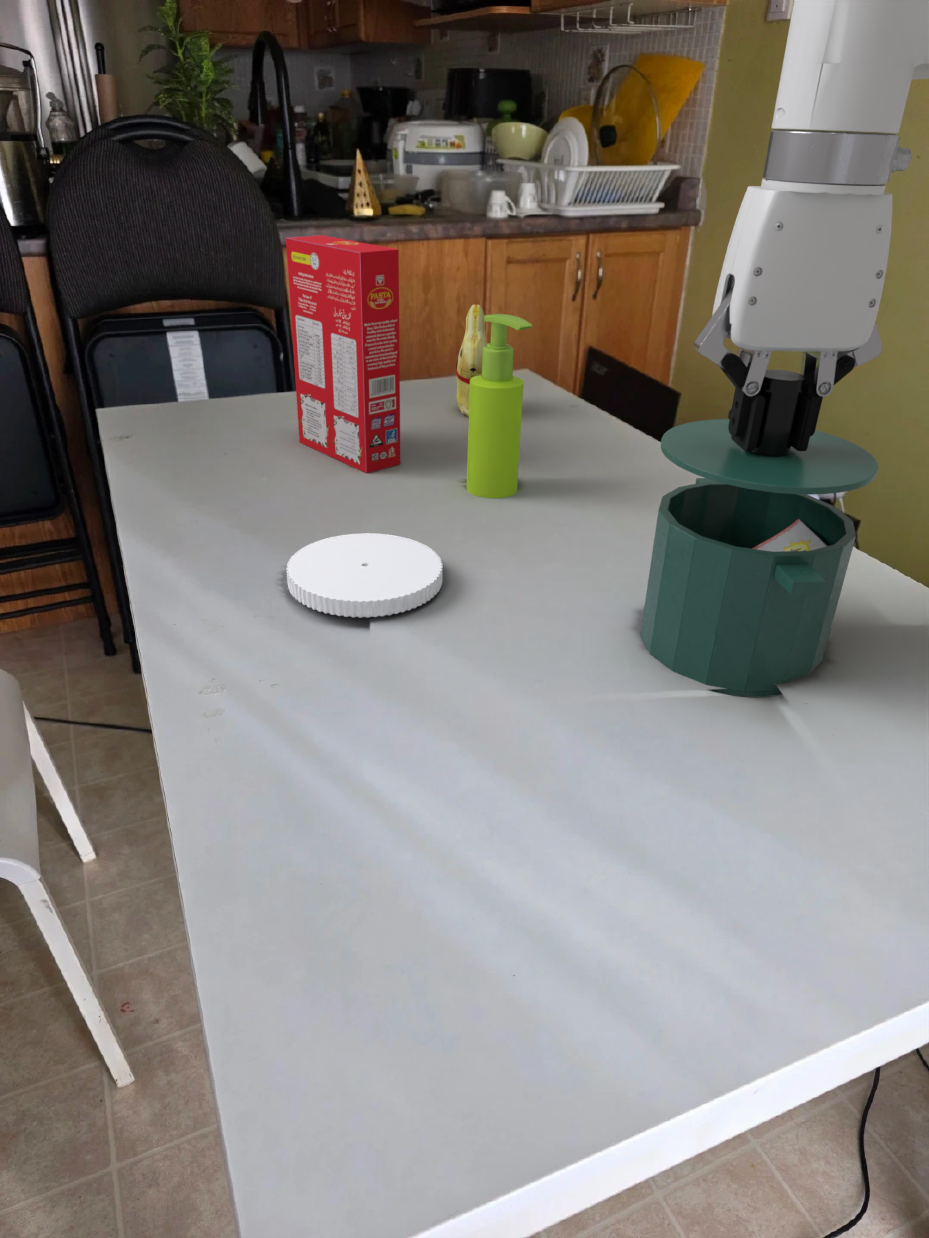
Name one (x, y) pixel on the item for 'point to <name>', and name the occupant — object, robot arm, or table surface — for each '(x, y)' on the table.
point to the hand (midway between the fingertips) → (768, 443)
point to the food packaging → (346, 348)
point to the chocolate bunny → (470, 355)
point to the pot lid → (771, 449)
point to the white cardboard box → (793, 539)
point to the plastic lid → (364, 575)
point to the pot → (742, 587)
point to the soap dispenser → (495, 415)
